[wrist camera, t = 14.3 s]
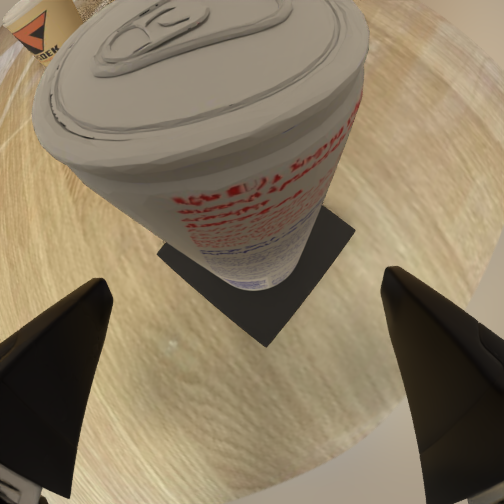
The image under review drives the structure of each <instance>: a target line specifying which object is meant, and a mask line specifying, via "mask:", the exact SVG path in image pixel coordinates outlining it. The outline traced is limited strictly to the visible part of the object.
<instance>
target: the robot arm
mask: <svg viewBox="0 0 504 504" xmlns="http://www.w3.org/2000/svg"><path fill="white" fill-rule="evenodd" d="M381 298H382V302H383V307H384V311H385V316H386V320H387V325H388V330H389V335H390V338H391V342H392V345H393V348H394V352H395V355H396V358H397V362H398V365H399V369H400V372H401V376H402V379H403V383H404V387H405V391H406V395H407V398H408V403H409V407H410V411H411V415H412V420H413V424H414V429H415V434H416V439H417V444H418V449H419V454H420V461H421V467H422V473H423V480H424V488H425V495H426V504H454V503H456V502H459V501H462V500H464V499H466V498H467V499H468V504H504V340H503V339H502V338H500V337H499V336H497V335H496V334H495V333H493V332H492V331H491V330H489V329H488V328H487V327H485V326H484V325H483V324H481V323H478V321H477V320H476V319H475V318H473V317H472V316H470V315H469V314H468V313H466V312H465V311H464V310H462V309H461V308H460V307H458V306H457V305H455V304H454V303H453V302H451V301H450V300H448V299H447V298H445V297H444V296H443V295H441V294H440V293H438V292H437V291H435V290H434V289H432V288H431V287H430V286H428V285H427V284H425V283H424V282H422V281H421V280H419V279H418V278H416V277H415V276H413V275H412V274H410V273H409V272H407V271H405V270H404V269H402V268H401V267H399V266H390V267H387V268H386V269H385V272H384V276H383V281H382V285H381ZM112 306H113V296H112V294H111V292H110V289H109V287H108V285H107V282H106V280H105V279H103V278H93V279H91V280H90V281H88V282H87V283H85V284H83V285H82V286H80V287H79V288H77V289H76V290H75V291H73V292H72V293H70V294H69V295H67V296H66V297H64V298H63V299H61V300H60V301H58V302H57V303H55V304H54V305H53V306H51V307H50V308H48V309H47V310H46V311H44V312H43V313H41V314H40V315H38V316H37V317H36V318H34V319H33V320H32V321H30V322H29V323H27V324H26V325H25V326H23V327H22V328H21V329H20V330H19V331H17V332H15V333H14V334H13V335H11V336H10V337H9V338H7V339H6V340H4V341H3V342H2V343H0V504H48V502H47V500H46V498H45V497H44V496H42V495H41V491H42V487H43V488H45V489H47V490H49V491H51V492H54V493H56V494H58V495H60V496H63V497H65V498H67V499H70V495H71V487H72V480H73V472H74V466H75V460H76V454H77V447H78V442H79V437H80V432H81V427H82V423H83V418H84V414H85V410H86V405H87V401H88V397H89V393H90V390H91V386H92V382H93V378H94V375H95V371H96V368H97V364H98V361H99V358H100V354H101V351H102V348H103V344H104V341H105V337H106V332H107V328H108V323H109V319H110V315H111V310H112Z"/></svg>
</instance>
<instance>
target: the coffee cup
mask: <svg viewBox="0 0 504 504" xmlns="http://www.w3.org/2000/svg"><path fill="white" fill-rule="evenodd" d="M2 20H3V22H4V23H3V26H4V27H7V29H8V30H9V31H10V32H11V33H12V34H13V35H14V36H15V37H16V38H17V39H18V40H19V41H20V42H21V43H22V44H23V45H24V46H25V47H26V48H27V49H28V50H29V51H30V52H31V53H32V54H33V55H34V56H35V57H36V58H37V59H38V60H39V61H40V62H41V63H42V64H43V65H44V66H45V67H47V66H48V64H49V63H50V61H51V60H52V59H53V57H54V56H55V54H56V53H57V51H58V50H59V49H60V47H61V46H62V45H63V43H64V42H65V41H66V40H67V39H68V38H69V37H70V36H71V35H72V34H73V33H74V32H75V31H76V30H77V29H78V28H79V27H80V26H81V25H82V24H83V21H82V19H81V17H80V15H79V13H78V11H77V9H76V7H75V5H74V3H73V1H72V0H20V1H19V2H18V3H17V4H16V5H15V6H14V7H13V8H11V9H10V11H9V12H8V13H7V14H6V15H5V16H4V18H3V19H2Z"/></svg>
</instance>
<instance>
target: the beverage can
mask: <svg viewBox="0 0 504 504" xmlns="http://www.w3.org/2000/svg"><path fill="white" fill-rule="evenodd" d="M369 32H370V31H369V28H368V25H367V22H366V19H365V16H364V14H363V13H362V12H361V10H360V9H359V8H358V6H357V5H356V4H355V3H354V2H353V0H115V1H113V2H112V3H110V4H108V5H107V6H105V7H104V8H102V9H101V10H100V11H98V12H97V13H96V14H94V15H93V16H92V17H91V18H89V19H88V20H87V21H86V22H85V23H83V24H82V25H81V26H80V27H79V28H78V29H77V30H76V31H75V32H74V33H73V34H72V35H71V36H70V37H69V38H68V39H67V40H66V41H65V42H64V43H63V45H62V46H61V47H60V49H59V50H58V51H57V53H56V54H55V56H54V57H53V59H52V60H51V61H50V63H49V64H48V66H47V67H46V69H45V71H44V73H43V75H42V77H41V80H40V82H39V84H38V86H37V89H36V93H35V96H34V102H33V107H32V122H33V127H34V131H35V133H36V135H37V138H38V140H39V142H40V144H41V146H42V147H43V148H44V149H46V150H47V151H48V152H49V153H50V154H51V155H52V156H53V157H54V158H55V159H57V160H58V161H60V162H62V163H63V164H65V165H67V166H68V167H69V168H70V169H71V170H72V171H73V172H74V173H75V174H76V175H77V177H78V178H79V179H80V180H81V181H82V182H83V183H84V184H85V185H86V186H88V187H89V188H90V189H92V190H93V191H95V192H96V193H97V194H99V195H100V196H101V197H103V198H104V199H106V200H107V201H108V202H110V203H111V204H112V205H114V206H115V207H117V208H118V209H119V210H121V211H122V212H124V213H125V214H126V215H128V216H129V217H131V218H132V219H134V220H135V221H136V222H138V223H139V224H141V225H142V226H144V227H145V228H146V229H148V230H149V231H151V232H152V233H154V234H155V235H157V236H158V237H159V238H161V239H162V240H164V241H165V242H167V243H168V244H170V245H171V246H173V247H174V248H176V249H177V250H179V251H180V252H182V253H183V254H185V255H186V256H188V257H189V258H191V259H192V260H194V261H195V262H197V263H198V264H200V265H201V266H203V267H204V268H206V269H207V270H209V271H210V272H212V273H213V274H215V275H216V276H218V277H219V278H221V279H222V280H224V281H226V282H227V283H229V284H230V285H232V286H234V287H237V288H240V289H243V290H250V291H257V290H264V289H268V288H271V287H273V286H275V285H277V284H279V283H281V282H282V281H283V280H285V279H286V278H287V277H288V276H289V275H290V274H291V273H292V271H293V270H294V269H295V267H296V265H297V263H298V261H299V258H300V256H301V254H302V251H303V249H304V247H305V244H306V242H307V240H308V237H309V235H310V233H311V230H312V228H313V225H314V223H315V221H316V218H317V216H318V213H319V211H320V208H321V206H322V203H323V201H324V198H325V196H326V193H327V191H328V188H329V186H330V183H331V181H332V178H333V176H334V173H335V170H336V168H337V165H338V163H339V160H340V157H341V155H342V152H343V149H344V147H345V144H346V141H347V139H348V136H349V133H350V130H351V128H352V125H353V122H354V119H355V117H356V114H357V111H358V108H359V105H360V102H361V99H362V94H363V81H364V63H365V60H366V56H367V53H368V50H369Z"/></svg>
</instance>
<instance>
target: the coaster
mask: <svg viewBox="0 0 504 504" xmlns="http://www.w3.org/2000/svg"><path fill="white" fill-rule="evenodd" d="M354 232H355V229H353V228H352V227H351V226H350V225H348V224H347V223H346V222H344V221H343V220H342V219H340V218H339V217H338V216H336V215H335V214H334V213H332V212H331V211H330V210H328V209H327V208H325V207H324V206H323V205H322V206H321V208H320V211H319V213H318V216H317V218H316V221H315V223H314V225H313V228H312V230H311V233H310V235H309V237H308V240H307V242H306V244H305V247H304V249H303V251H302V254H301V256H300V258H299V261H298V263H297V265H296V267H295V269H294V270H293V271H292V273H291V274H290V275H289V276H288V277H287V278H286V279H285V280H283V281H282V282H281V283H279V284H277V285H275V286H273V287H271V288H268V289H264V290H257V291H250V290H243V289H240V288H237V287H234V286H232V285H230V284H229V283H227V282H226V281H224V280H222V279H221V278H219V277H218V276H216V275H215V274H213V273H212V272H210V271H209V270H207V269H206V268H204V267H203V266H201V265H200V264H198V263H197V262H195V261H194V260H192V259H191V258H189V257H188V256H186V255H185V254H183V253H182V252H180V251H179V250H177V249H176V248H174V247H173V246H171V245H170V244H168V243H167V242H166V243H165V244H164V245H163V247H162V248H161V249H160V250H159V252H158V253H157V255H158V256H159V257H160V258H161V259H162V260H163V261H164V262H165V263H166V264H167V265H169V266H170V267H171V268H172V269H173V270H174V271H175V272H176V273H177V274H179V275H180V276H181V277H182V278H183V279H184V280H185V281H186V282H188V283H189V284H190V285H191V286H192V287H193V288H194V289H196V290H197V291H198V292H199V293H200V294H201V295H202V296H204V297H205V298H206V299H207V300H208V301H209V302H211V303H212V304H213V305H214V306H215V307H217V308H218V309H219V310H220V311H221V312H223V313H224V314H225V315H226V316H227V317H229V318H230V319H231V320H232V321H233V322H235V323H236V324H237V325H238V326H239V327H241V328H242V329H243V330H244V331H246V332H247V333H248V334H249V335H251V336H252V337H253V338H254V339H256V340H257V341H258V342H259V343H261V344H262V345H263V346H264V347H267V346H268V345H269V344H270V343H271V342H272V340H273V339H274V338H275V337H276V335H277V334H278V333H279V332H280V331H281V329H282V328H283V327H284V326H285V324H286V323H287V322H288V321H289V319H290V318H291V317H292V316H293V314H294V313H295V312H296V311H297V309H298V308H299V307H300V306H301V304H302V303H303V302H304V300H305V299H306V298H307V297H308V295H309V294H310V293H311V291H312V290H313V289H314V287H315V286H316V285H317V283H318V282H319V281H320V279H321V278H322V277H323V275H324V274H325V273H326V271H327V270H328V269H329V267H330V266H331V265H332V263H333V262H334V260H335V259H336V258H337V256H338V255H339V254H340V252H341V251H342V249H343V248H344V247H345V245H346V244H347V242H348V241H349V240H350V238H351V237H352V235H353V234H354Z"/></svg>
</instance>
